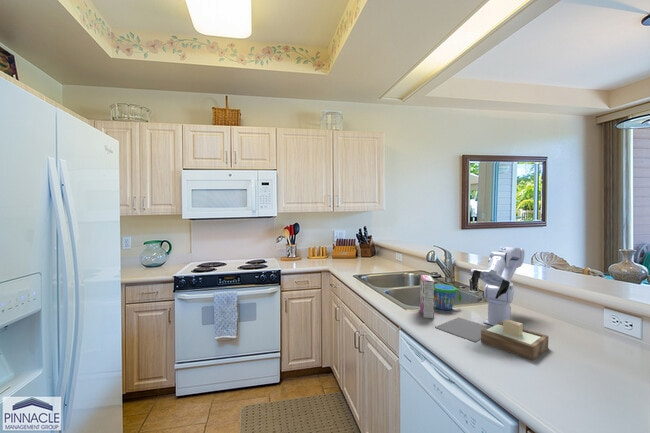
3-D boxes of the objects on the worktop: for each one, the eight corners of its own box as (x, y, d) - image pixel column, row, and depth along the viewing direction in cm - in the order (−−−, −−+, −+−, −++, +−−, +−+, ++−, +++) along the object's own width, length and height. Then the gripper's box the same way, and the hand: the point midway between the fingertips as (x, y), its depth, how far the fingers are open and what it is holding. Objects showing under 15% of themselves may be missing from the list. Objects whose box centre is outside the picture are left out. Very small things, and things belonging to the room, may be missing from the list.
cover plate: (497, 326, 114) (497, 313, 114) (541, 339, 103) (541, 325, 103) (485, 332, 108) (485, 319, 108) (530, 347, 97) (530, 332, 96)
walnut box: (498, 332, 115) (498, 321, 115) (548, 347, 103) (548, 335, 103) (480, 341, 107) (481, 330, 107) (532, 360, 94) (533, 347, 94)
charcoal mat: (458, 317, 130) (458, 317, 130) (497, 330, 117) (497, 329, 117) (434, 327, 119) (434, 326, 119) (475, 342, 106) (475, 341, 106)
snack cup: (458, 305, 147) (458, 284, 147) (464, 312, 137) (465, 290, 136) (424, 303, 150) (425, 283, 149) (428, 310, 139) (429, 288, 139)
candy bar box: (419, 309, 141) (420, 274, 140) (430, 310, 140) (431, 275, 139) (422, 318, 130) (423, 280, 129) (434, 319, 129) (435, 281, 128)
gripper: (476, 256, 119) (466, 275, 110) (518, 270, 111) (511, 292, 102) (472, 269, 123) (462, 289, 113) (512, 284, 115) (505, 307, 106)
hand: (485, 291), depth 108 cm, fingers open, 7 cm apart
